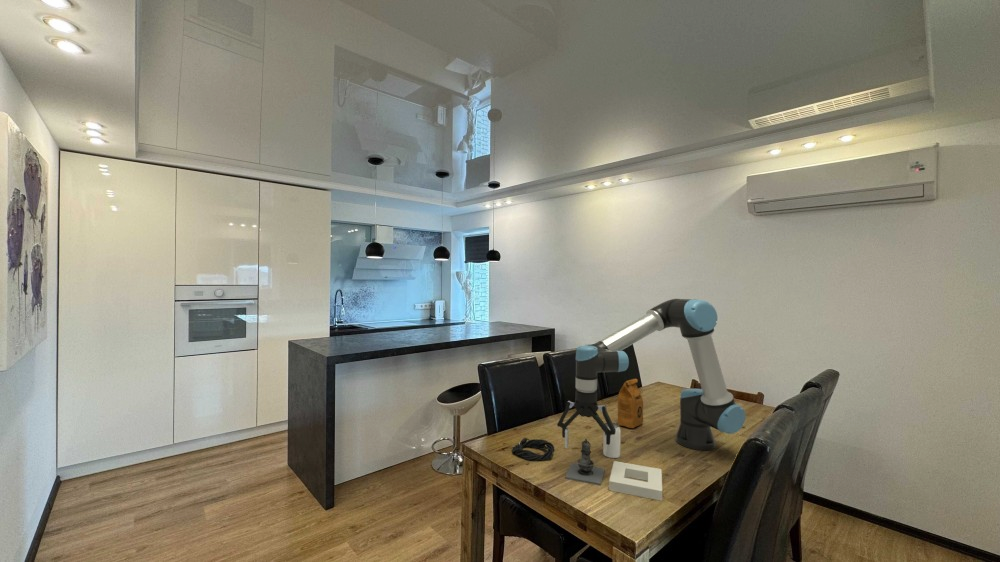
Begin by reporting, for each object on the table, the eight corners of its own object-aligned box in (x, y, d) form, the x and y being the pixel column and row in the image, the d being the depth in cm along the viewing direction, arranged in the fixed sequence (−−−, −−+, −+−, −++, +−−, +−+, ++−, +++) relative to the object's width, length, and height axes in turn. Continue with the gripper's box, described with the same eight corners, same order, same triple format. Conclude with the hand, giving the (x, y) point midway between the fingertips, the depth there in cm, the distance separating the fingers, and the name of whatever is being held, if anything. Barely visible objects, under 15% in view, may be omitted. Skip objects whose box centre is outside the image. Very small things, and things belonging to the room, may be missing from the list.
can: (617, 460, 148) (617, 428, 149) (601, 456, 152) (601, 425, 152) (622, 454, 154) (622, 424, 154) (605, 450, 157) (606, 420, 158)
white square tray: (661, 477, 135) (661, 469, 135) (662, 500, 120) (662, 491, 120) (613, 469, 141) (614, 460, 141) (609, 490, 126) (609, 481, 126)
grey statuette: (575, 468, 140) (575, 435, 140) (591, 468, 140) (591, 435, 140) (579, 476, 134) (580, 441, 134) (596, 476, 134) (596, 441, 134)
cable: (561, 456, 152) (561, 445, 152) (538, 467, 142) (538, 455, 143) (529, 443, 165) (529, 433, 165) (505, 452, 155) (505, 441, 155)
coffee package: (646, 425, 188) (647, 379, 188) (633, 431, 179) (633, 383, 180) (628, 419, 195) (628, 376, 196) (614, 425, 187) (614, 379, 187)
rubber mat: (604, 470, 140) (604, 468, 140) (600, 485, 129) (600, 483, 129) (571, 464, 145) (571, 462, 145) (565, 478, 134) (565, 476, 134)
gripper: (623, 391, 136) (623, 451, 136) (554, 383, 146) (553, 440, 145) (622, 396, 129) (621, 460, 129) (549, 388, 139) (548, 448, 138)
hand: (585, 450), depth 137 cm, fingers open, 13 cm apart
